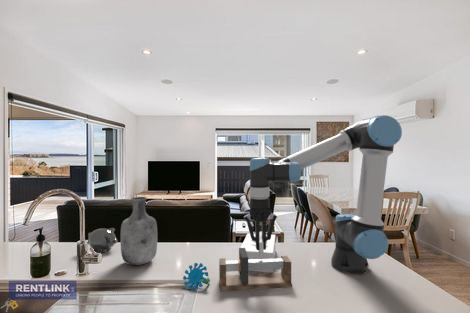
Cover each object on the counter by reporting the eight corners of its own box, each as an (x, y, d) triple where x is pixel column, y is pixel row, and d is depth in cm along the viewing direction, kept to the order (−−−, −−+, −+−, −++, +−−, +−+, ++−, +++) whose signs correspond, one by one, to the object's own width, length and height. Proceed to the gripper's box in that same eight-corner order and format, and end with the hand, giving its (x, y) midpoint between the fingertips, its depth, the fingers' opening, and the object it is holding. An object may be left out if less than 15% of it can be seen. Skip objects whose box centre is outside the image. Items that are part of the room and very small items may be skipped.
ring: (245, 272, 109) (244, 247, 109) (248, 284, 99) (248, 257, 99) (239, 272, 108) (239, 247, 108) (242, 284, 99) (241, 257, 98)
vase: (112, 267, 118) (111, 200, 118) (136, 254, 134) (135, 194, 133) (143, 272, 113) (142, 202, 113) (164, 257, 129) (163, 196, 128)
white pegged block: (239, 270, 115) (239, 245, 115) (247, 249, 140) (247, 228, 140) (273, 273, 113) (272, 247, 113) (275, 251, 137) (275, 230, 137)
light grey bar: (284, 265, 107) (284, 257, 107) (287, 269, 103) (287, 260, 103) (222, 268, 105) (222, 260, 104) (222, 272, 101) (222, 263, 101)
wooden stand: (285, 275, 110) (285, 253, 110) (292, 287, 100) (292, 264, 100) (219, 278, 108) (219, 256, 108) (220, 291, 98) (219, 267, 98)
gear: (177, 282, 101) (191, 258, 106) (183, 288, 105) (196, 264, 110) (200, 294, 95) (213, 267, 101) (206, 299, 99) (218, 274, 105)
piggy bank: (111, 255, 132) (111, 232, 132) (82, 255, 133) (81, 232, 133) (122, 247, 144) (121, 226, 143) (94, 247, 144) (94, 225, 144)
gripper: (274, 195, 108) (275, 253, 108) (242, 196, 107) (243, 255, 107) (278, 198, 100) (279, 260, 101) (244, 199, 99) (245, 262, 100)
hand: (261, 257), depth 104 cm, fingers closed
